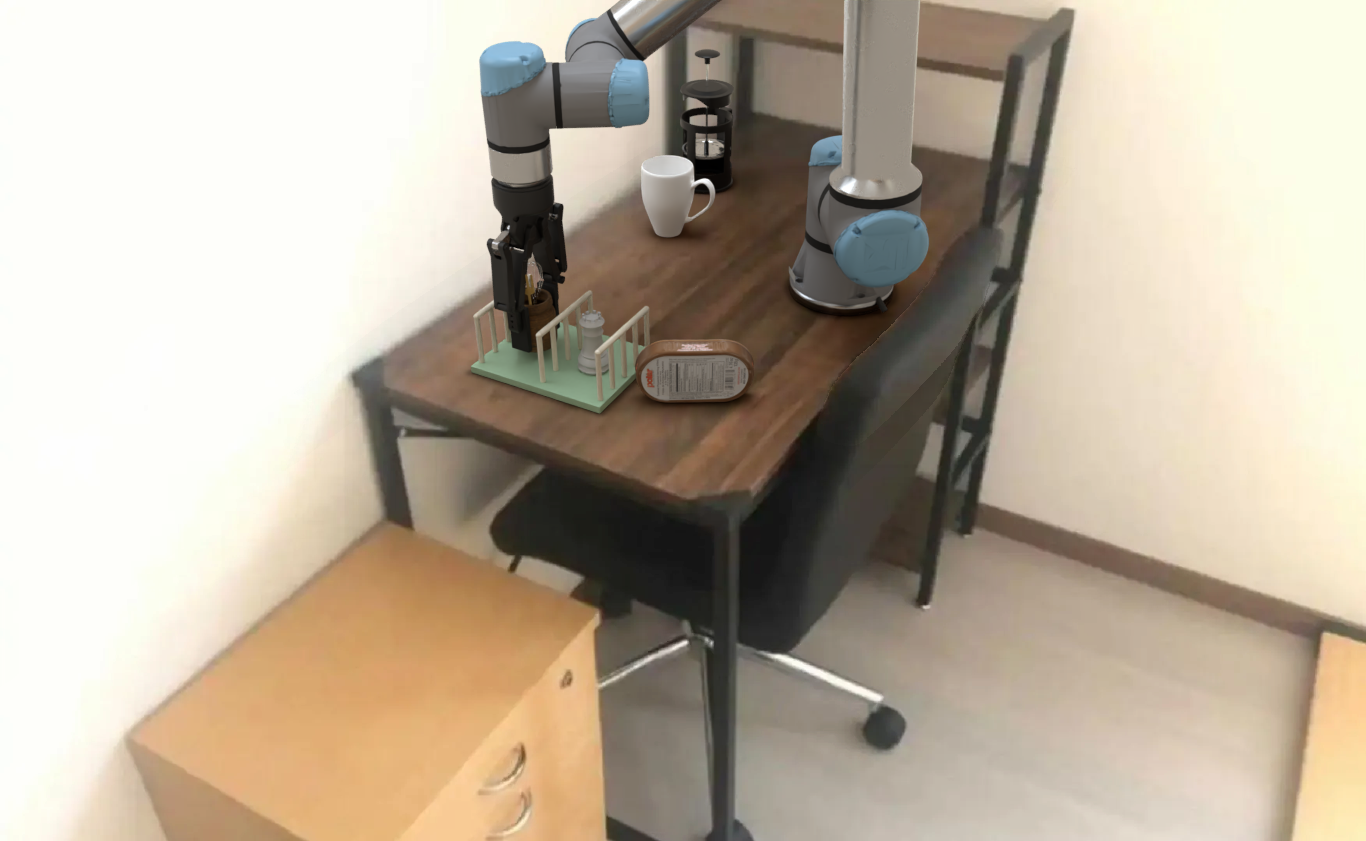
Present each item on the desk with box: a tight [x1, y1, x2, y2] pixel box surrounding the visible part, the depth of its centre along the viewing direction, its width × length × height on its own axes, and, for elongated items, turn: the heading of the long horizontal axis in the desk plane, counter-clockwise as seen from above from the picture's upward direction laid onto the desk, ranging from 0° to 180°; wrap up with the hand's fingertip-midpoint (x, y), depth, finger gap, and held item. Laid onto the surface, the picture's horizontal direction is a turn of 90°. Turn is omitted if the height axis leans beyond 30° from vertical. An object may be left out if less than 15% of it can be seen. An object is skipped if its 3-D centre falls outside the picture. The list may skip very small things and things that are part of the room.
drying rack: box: [470, 273, 651, 415], centre depth 148 cm, size 20×15×8 cm
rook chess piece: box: [578, 309, 609, 375], centre depth 145 cm, size 4×4×8 cm
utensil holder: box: [524, 261, 558, 353], centre depth 147 cm, size 6×6×12 cm
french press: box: [679, 48, 735, 195], centre depth 191 cm, size 12×9×23 cm
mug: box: [640, 154, 716, 238], centre depth 178 cm, size 12×8×11 cm
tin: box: [635, 338, 755, 404], centre depth 141 cm, size 15×3×8 cm, turn 92°
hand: (536, 336), depth 150 cm, fingers closed on utensil holder, 6 cm apart
